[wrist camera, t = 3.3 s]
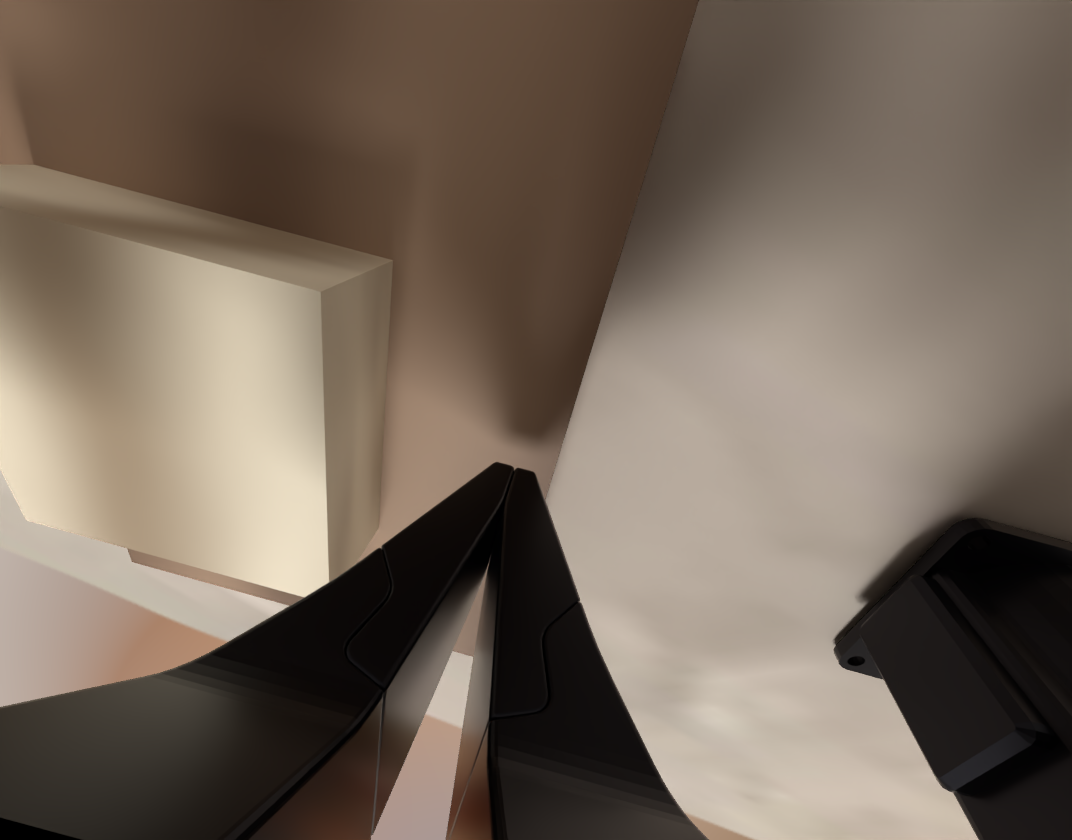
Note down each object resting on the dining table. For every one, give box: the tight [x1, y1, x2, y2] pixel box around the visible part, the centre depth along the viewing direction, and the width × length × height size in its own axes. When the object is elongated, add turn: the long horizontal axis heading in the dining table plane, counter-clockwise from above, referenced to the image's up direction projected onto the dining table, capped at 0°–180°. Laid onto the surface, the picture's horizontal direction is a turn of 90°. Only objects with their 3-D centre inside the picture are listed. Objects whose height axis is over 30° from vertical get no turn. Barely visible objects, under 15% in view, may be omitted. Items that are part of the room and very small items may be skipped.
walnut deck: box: [0, 0, 699, 657], centre depth 11 cm, size 12×16×2 cm
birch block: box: [0, 165, 393, 597], centre depth 9 cm, size 7×7×2 cm
